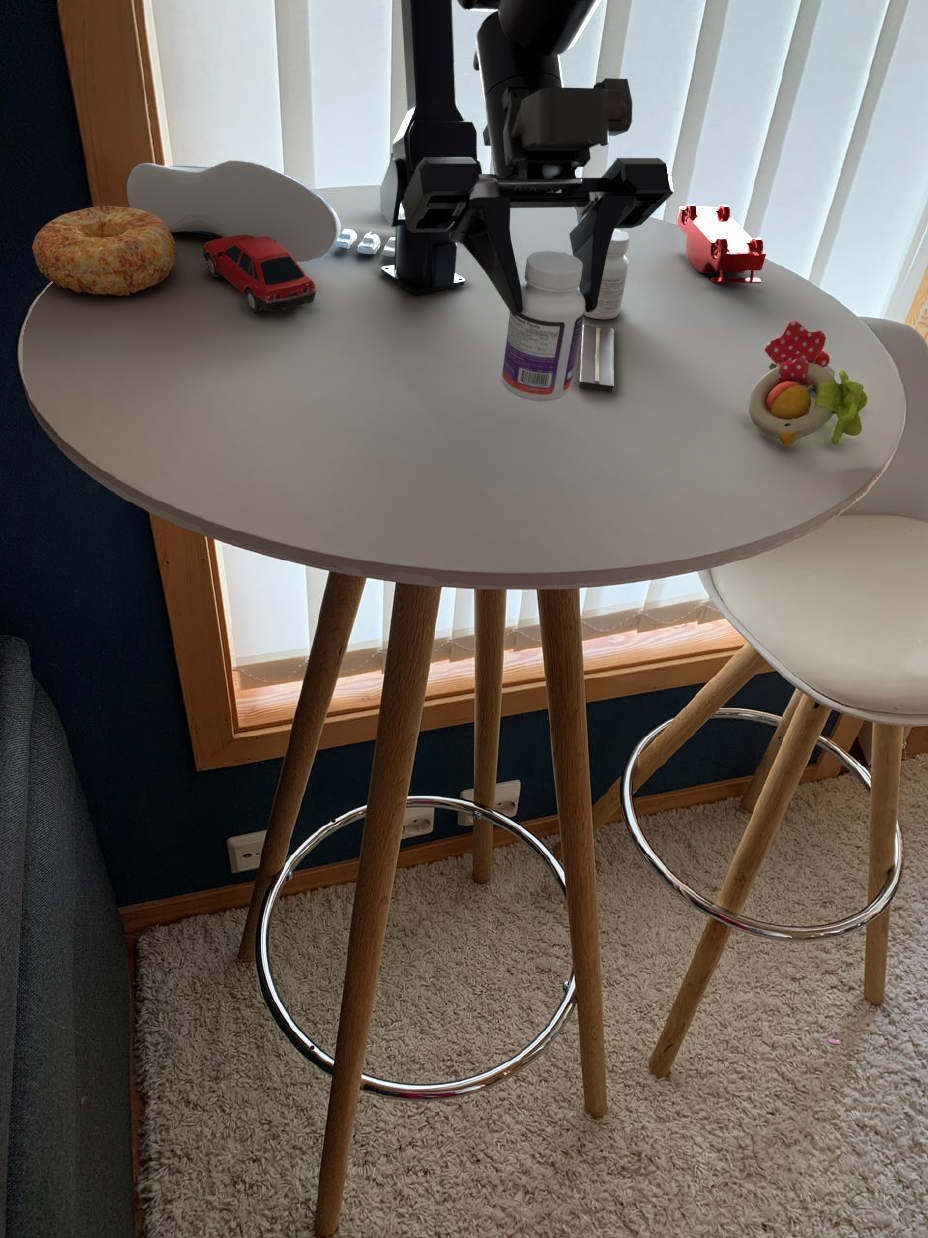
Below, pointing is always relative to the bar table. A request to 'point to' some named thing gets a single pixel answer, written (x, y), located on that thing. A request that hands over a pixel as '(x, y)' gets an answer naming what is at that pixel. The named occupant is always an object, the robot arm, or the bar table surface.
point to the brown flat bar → (597, 358)
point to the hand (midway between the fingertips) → (555, 312)
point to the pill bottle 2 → (613, 278)
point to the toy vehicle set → (365, 243)
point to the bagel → (105, 250)
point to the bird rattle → (803, 390)
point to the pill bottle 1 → (545, 328)
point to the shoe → (237, 204)
